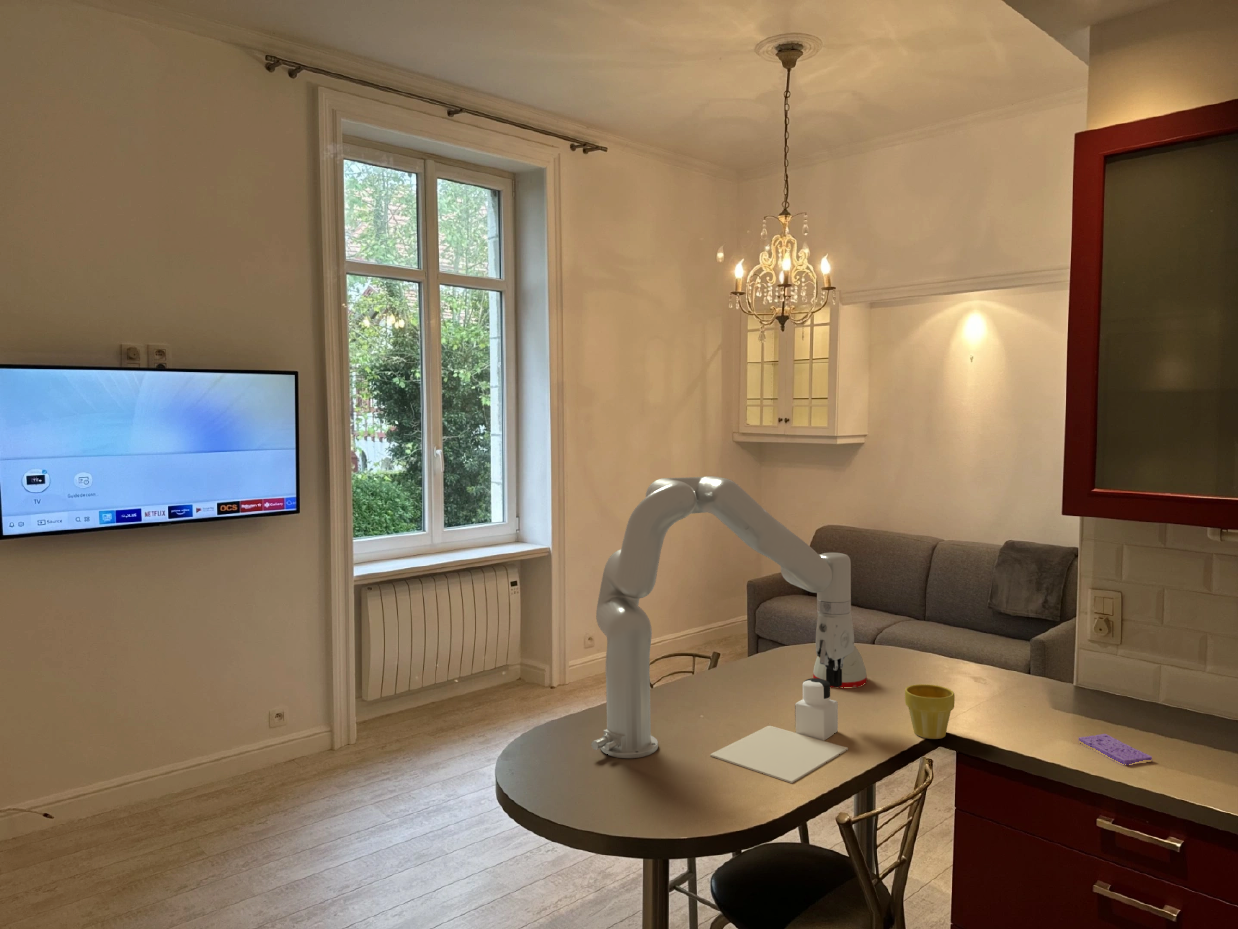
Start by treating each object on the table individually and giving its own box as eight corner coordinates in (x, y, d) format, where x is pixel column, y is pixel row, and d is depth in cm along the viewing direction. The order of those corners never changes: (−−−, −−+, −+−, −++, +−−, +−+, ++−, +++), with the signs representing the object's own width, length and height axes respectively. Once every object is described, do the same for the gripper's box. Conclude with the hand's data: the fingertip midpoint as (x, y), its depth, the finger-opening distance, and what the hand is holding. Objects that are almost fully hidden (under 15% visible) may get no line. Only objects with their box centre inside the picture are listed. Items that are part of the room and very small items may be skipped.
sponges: (1105, 741, 184) (1105, 733, 184) (1153, 765, 171) (1153, 756, 171) (1077, 745, 182) (1077, 736, 182) (1124, 769, 170) (1124, 759, 170)
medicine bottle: (809, 725, 195) (809, 673, 195) (838, 731, 191) (838, 679, 190) (794, 734, 190) (794, 681, 189) (824, 741, 185) (823, 687, 185)
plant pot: (910, 722, 196) (910, 680, 195) (957, 730, 191) (958, 687, 190) (900, 737, 187) (900, 694, 186) (949, 746, 182) (949, 701, 181)
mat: (791, 783, 165) (791, 781, 165) (710, 756, 179) (710, 754, 179) (848, 749, 181) (848, 748, 181) (769, 727, 195) (769, 725, 194)
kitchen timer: (805, 674, 233) (804, 620, 232) (851, 670, 236) (851, 617, 235) (826, 690, 219) (826, 633, 218) (875, 686, 222) (875, 630, 221)
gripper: (831, 615, 186) (832, 697, 188) (864, 603, 197) (864, 681, 198) (802, 610, 192) (802, 690, 193) (835, 599, 202) (835, 674, 204)
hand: (834, 685), depth 196 cm, fingers closed
